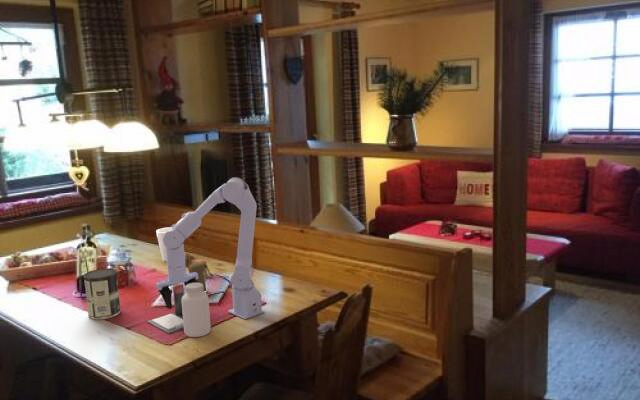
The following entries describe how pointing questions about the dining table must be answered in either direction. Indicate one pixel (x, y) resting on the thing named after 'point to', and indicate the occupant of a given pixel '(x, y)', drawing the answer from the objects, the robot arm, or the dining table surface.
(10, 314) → the dining table surface
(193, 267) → the brown upright piece
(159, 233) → the foam cup
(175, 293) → the marker
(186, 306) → the pill bottle
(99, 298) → the coffee can
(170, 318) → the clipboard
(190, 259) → the lion figurine
